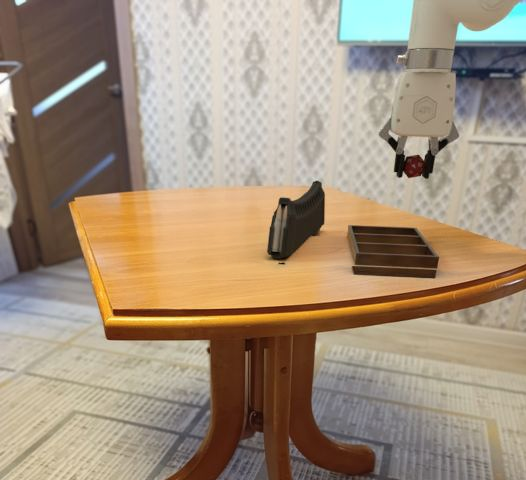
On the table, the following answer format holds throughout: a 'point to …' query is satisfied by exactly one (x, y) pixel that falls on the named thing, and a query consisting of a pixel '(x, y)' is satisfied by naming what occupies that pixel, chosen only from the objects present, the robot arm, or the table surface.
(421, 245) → the rack
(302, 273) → the table surface
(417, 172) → the dice
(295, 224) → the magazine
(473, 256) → the table surface
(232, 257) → the table surface
